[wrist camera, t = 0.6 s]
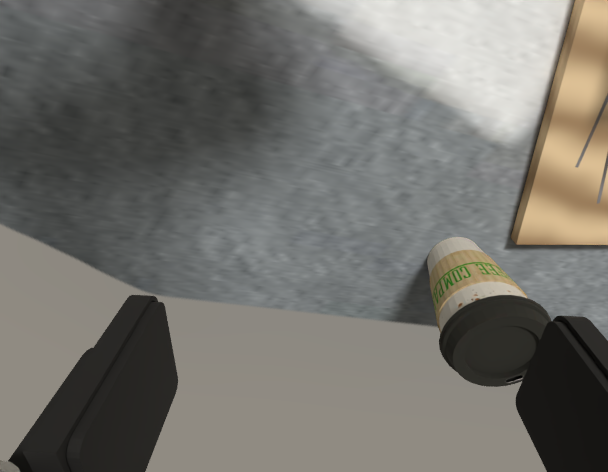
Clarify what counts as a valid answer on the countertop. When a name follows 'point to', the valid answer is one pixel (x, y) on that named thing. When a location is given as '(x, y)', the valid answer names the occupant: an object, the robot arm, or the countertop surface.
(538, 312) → the coffee cup
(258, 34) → the countertop surface
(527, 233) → the board
